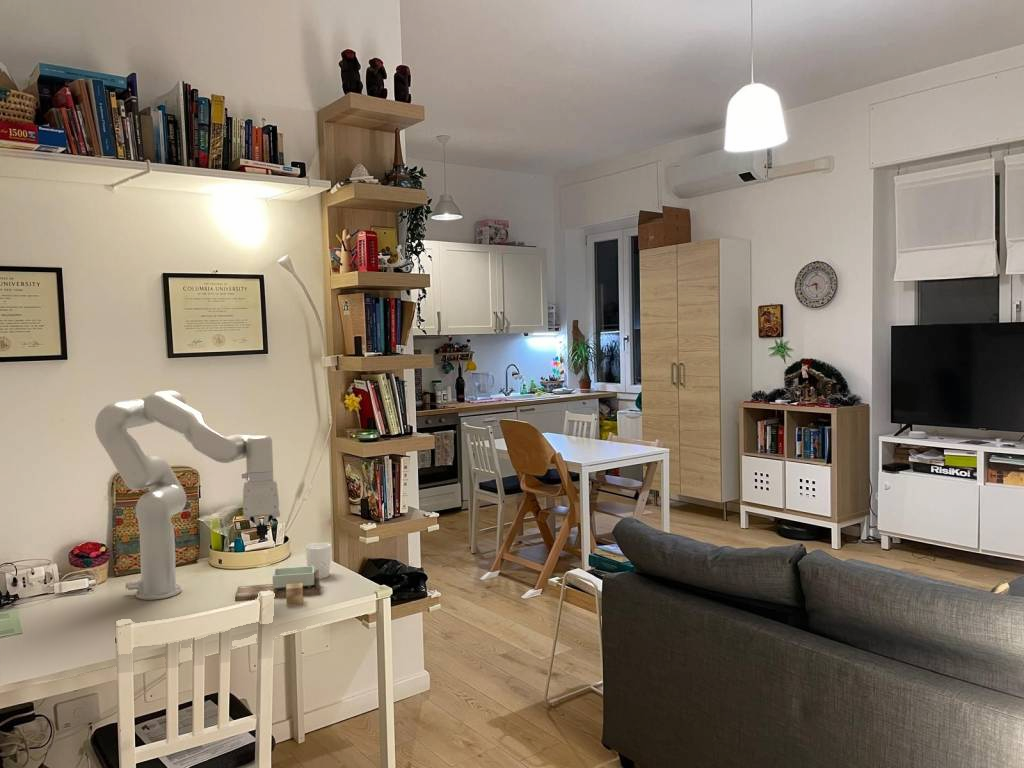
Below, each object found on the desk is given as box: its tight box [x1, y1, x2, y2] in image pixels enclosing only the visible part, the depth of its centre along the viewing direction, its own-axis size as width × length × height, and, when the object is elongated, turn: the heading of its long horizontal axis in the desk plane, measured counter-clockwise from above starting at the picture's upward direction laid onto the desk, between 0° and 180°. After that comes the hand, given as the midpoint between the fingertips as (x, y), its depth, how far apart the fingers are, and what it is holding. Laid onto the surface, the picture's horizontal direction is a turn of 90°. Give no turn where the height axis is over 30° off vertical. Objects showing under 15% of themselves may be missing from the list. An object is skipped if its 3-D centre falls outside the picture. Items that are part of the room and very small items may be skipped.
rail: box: [234, 569, 320, 602], centre depth 234 cm, size 24×10×5 cm, turn 104°
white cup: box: [305, 542, 332, 580], centre depth 251 cm, size 8×8×10 cm
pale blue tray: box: [272, 565, 314, 591], centre depth 235 cm, size 12×8×5 cm, turn 104°
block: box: [285, 583, 304, 607], centre depth 225 cm, size 4×4×5 cm
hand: (262, 537), depth 231 cm, fingers closed
